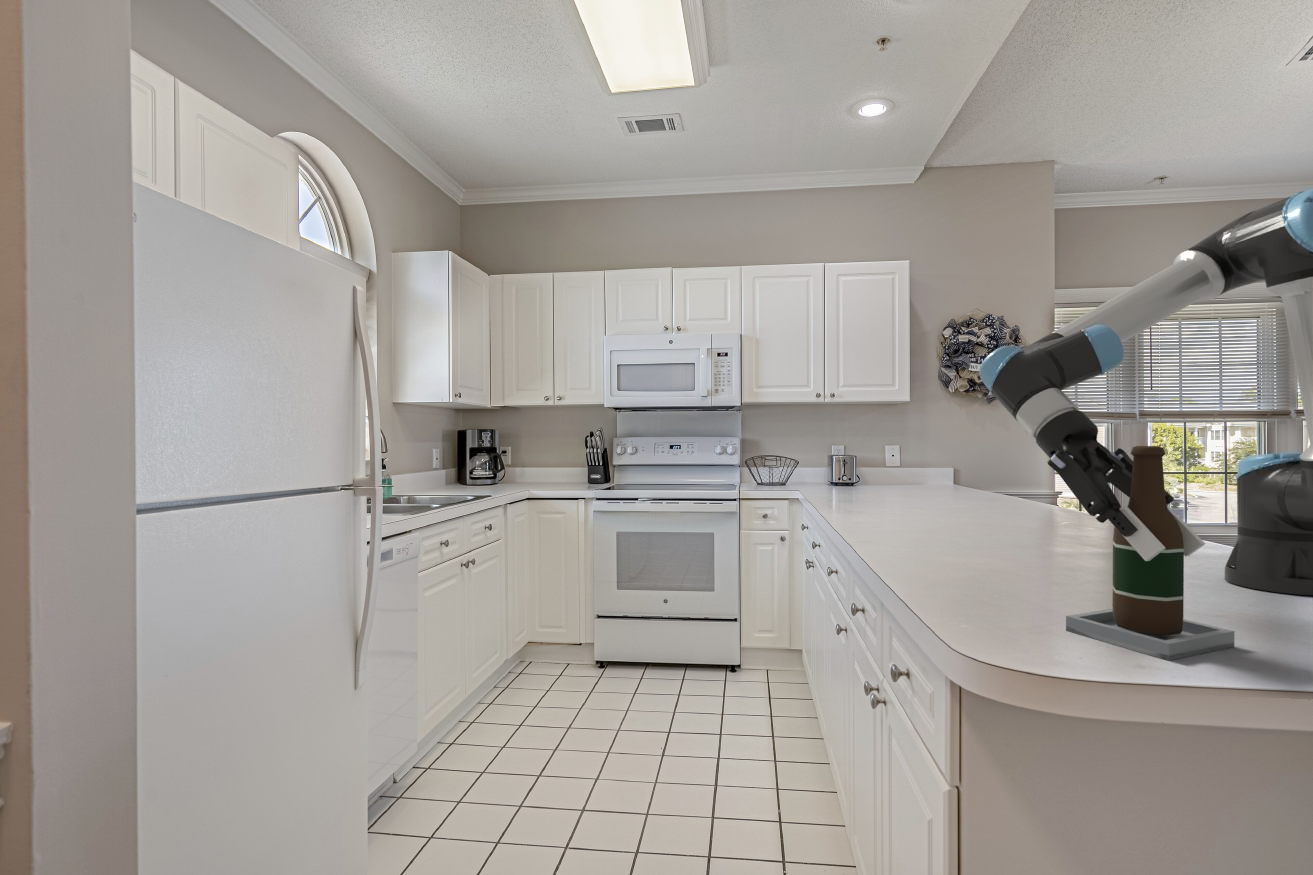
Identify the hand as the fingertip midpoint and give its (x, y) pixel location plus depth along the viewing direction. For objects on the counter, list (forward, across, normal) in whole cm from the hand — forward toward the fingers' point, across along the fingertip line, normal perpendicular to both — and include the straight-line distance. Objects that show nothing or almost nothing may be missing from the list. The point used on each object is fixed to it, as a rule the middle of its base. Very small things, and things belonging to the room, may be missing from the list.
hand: (1175, 552), depth 85 cm
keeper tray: (+6, 0, -11) cm, 12 cm away
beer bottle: (+5, 0, -10) cm, 11 cm away
